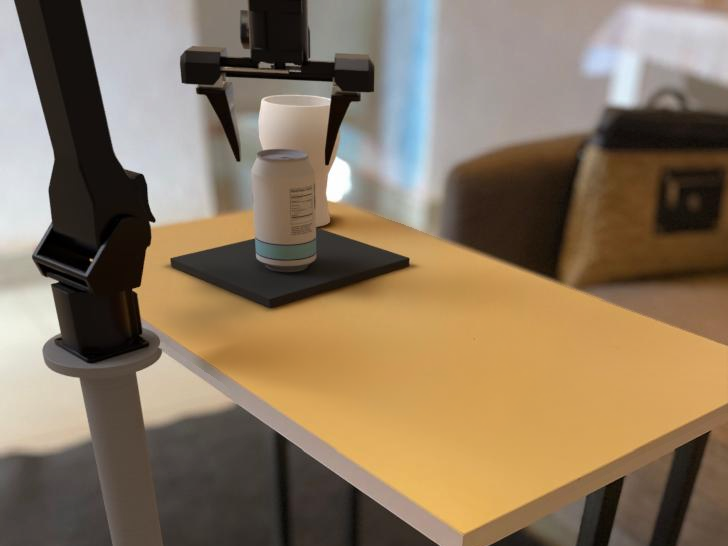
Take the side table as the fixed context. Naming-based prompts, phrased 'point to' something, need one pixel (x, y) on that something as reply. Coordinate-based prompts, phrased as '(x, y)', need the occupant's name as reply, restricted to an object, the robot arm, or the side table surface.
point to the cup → (300, 136)
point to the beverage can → (284, 209)
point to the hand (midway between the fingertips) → (283, 162)
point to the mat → (272, 288)
